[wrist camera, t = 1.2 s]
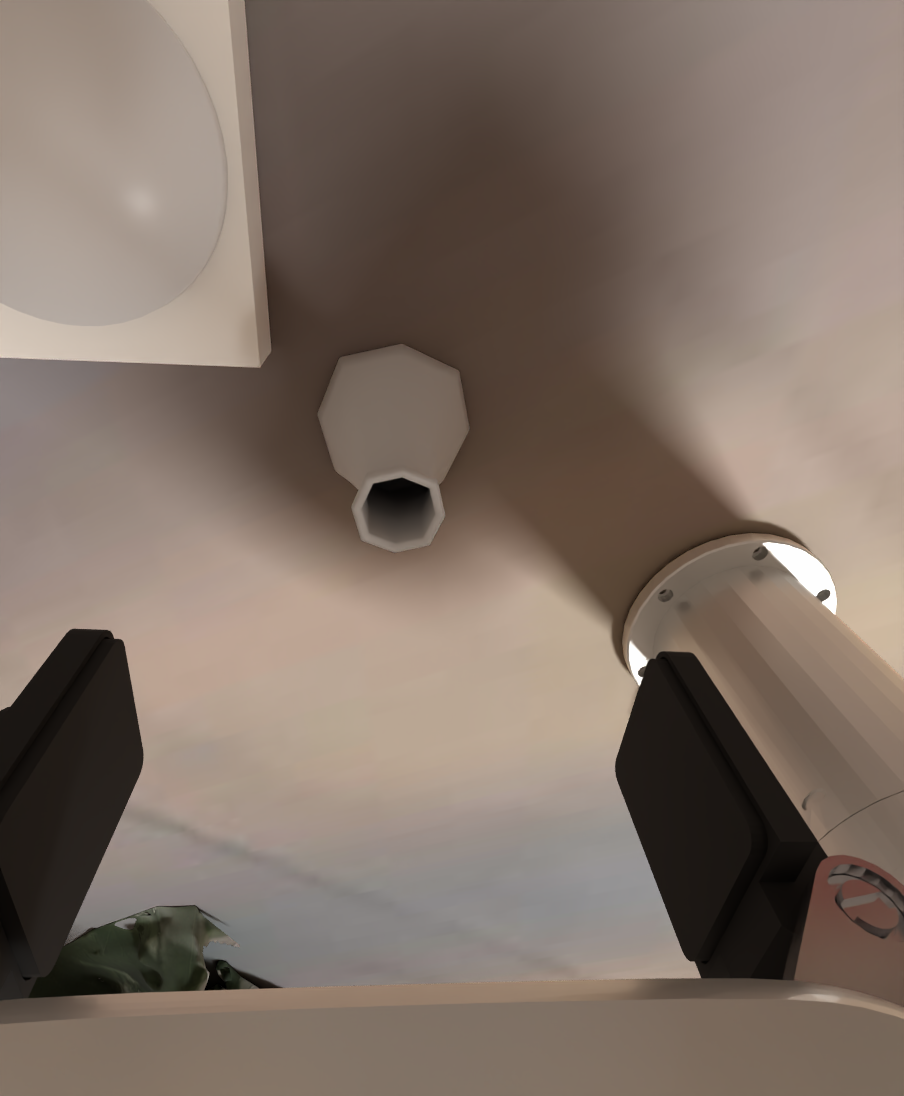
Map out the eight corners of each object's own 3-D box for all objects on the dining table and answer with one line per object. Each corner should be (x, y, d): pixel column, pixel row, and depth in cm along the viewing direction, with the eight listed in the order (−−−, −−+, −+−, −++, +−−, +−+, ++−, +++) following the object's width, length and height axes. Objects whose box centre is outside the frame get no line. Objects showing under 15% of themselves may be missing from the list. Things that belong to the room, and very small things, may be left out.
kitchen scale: (238, -78, 21) (209, -131, 18) (271, 351, 28) (255, 373, 24) (-265, -136, 19) (-407, -208, 16) (-98, 335, 26) (-172, 357, 23)
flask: (315, 482, 31) (289, 595, 23) (320, 332, 28) (290, 397, 19) (459, 494, 32) (486, 606, 24) (480, 351, 29) (521, 420, 20)
